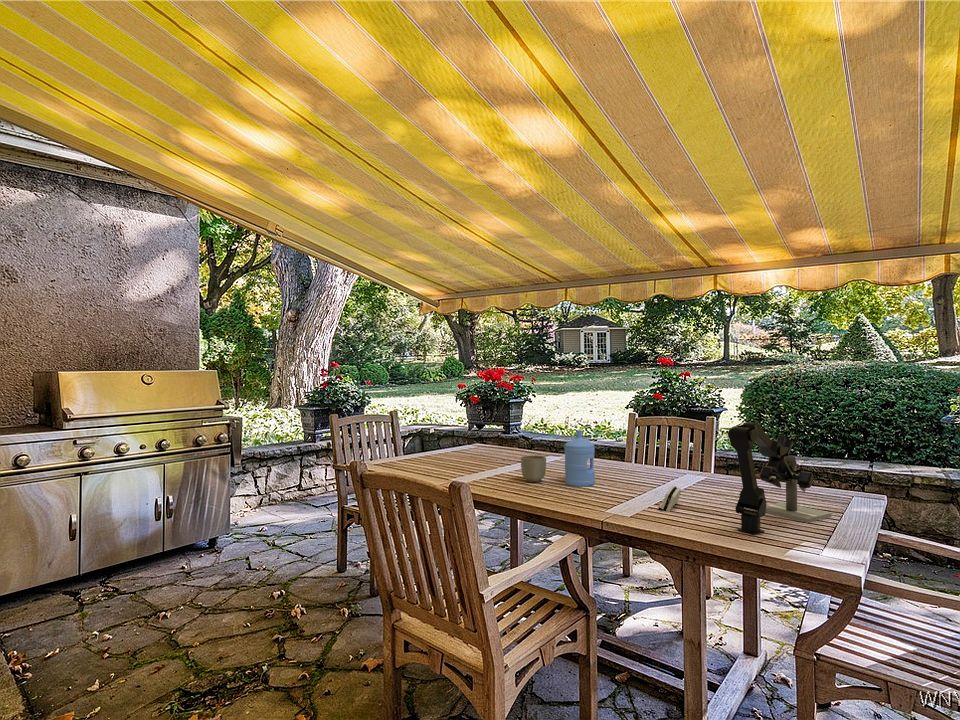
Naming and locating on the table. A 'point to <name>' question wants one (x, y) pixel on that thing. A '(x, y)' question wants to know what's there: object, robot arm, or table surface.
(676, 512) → the table surface
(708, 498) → the table surface
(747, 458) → the robot arm
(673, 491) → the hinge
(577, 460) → the water jug
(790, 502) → the bottle
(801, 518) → the board
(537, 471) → the planter
